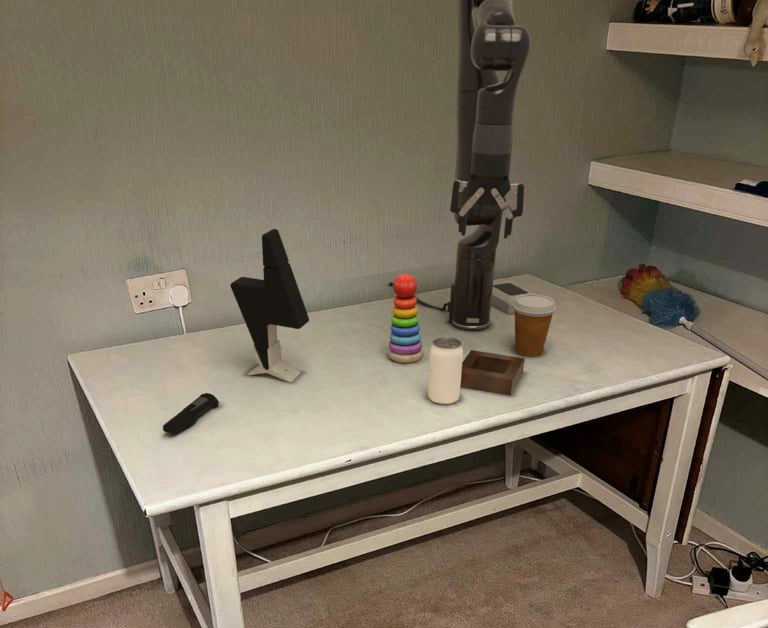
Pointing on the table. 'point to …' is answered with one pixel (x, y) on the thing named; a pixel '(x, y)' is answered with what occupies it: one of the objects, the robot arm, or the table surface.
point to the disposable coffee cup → (532, 323)
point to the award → (271, 307)
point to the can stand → (491, 372)
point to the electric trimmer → (190, 413)
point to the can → (445, 370)
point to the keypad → (506, 295)
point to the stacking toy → (405, 322)
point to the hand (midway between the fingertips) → (484, 236)
